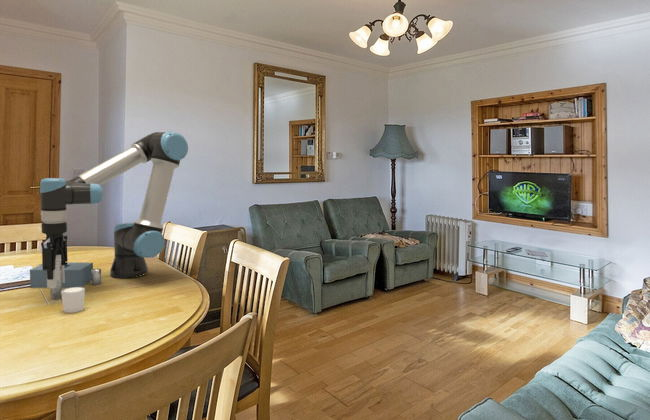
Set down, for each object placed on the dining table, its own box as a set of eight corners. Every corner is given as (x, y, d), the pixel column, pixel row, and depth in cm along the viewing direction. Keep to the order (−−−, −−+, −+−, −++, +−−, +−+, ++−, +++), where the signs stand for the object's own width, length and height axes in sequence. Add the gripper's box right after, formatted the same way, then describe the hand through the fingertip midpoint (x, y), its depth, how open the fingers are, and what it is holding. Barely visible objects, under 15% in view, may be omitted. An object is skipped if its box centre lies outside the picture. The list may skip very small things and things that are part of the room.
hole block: (93, 278, 172) (92, 262, 171) (80, 287, 160) (79, 270, 159) (46, 278, 169) (46, 262, 168) (30, 287, 157) (29, 269, 157)
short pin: (102, 282, 167) (102, 268, 167) (99, 285, 164) (99, 270, 163) (93, 282, 167) (93, 268, 166) (90, 285, 164) (89, 270, 163)
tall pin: (64, 296, 150) (62, 253, 148) (59, 299, 146) (58, 256, 144) (53, 296, 149) (52, 253, 147) (48, 299, 146) (47, 255, 144)
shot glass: (79, 304, 142) (79, 285, 142) (89, 309, 138) (88, 289, 138) (57, 310, 137) (57, 289, 136) (67, 315, 133) (66, 294, 132)
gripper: (55, 217, 153) (57, 277, 156) (27, 225, 135) (30, 293, 138) (77, 218, 154) (78, 277, 157) (52, 226, 136) (54, 293, 139)
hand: (56, 285), depth 147 cm, fingers open, 5 cm apart
